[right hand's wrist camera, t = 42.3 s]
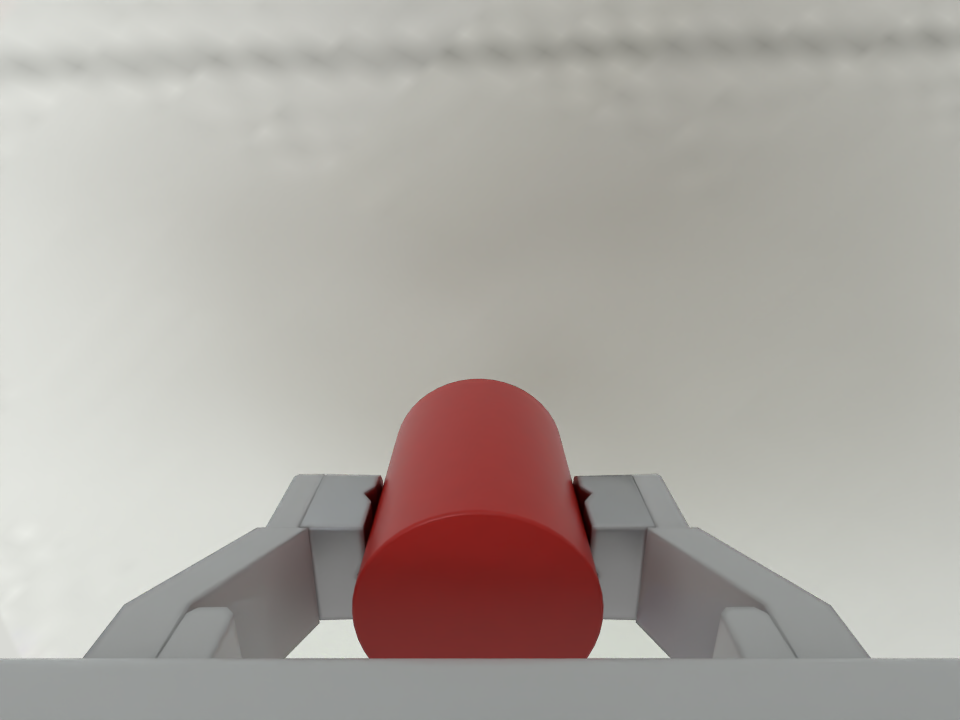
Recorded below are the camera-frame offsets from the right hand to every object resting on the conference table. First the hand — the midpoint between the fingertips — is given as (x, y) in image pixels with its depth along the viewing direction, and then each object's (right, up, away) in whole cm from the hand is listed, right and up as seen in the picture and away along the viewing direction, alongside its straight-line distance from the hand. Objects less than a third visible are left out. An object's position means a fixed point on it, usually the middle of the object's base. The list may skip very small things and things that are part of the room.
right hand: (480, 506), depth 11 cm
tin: (0, +1, +2) cm, 2 cm away
